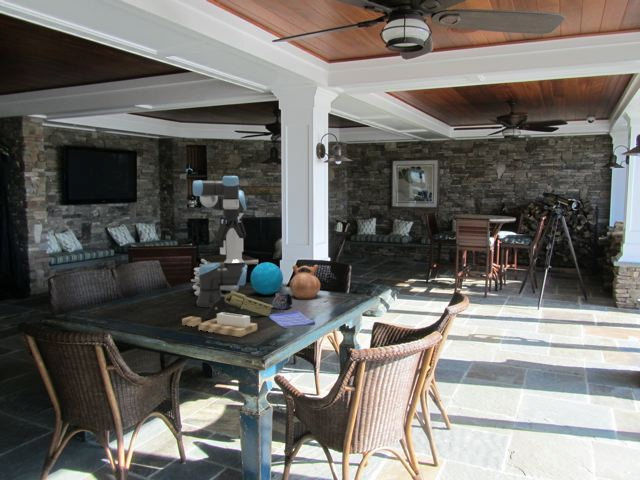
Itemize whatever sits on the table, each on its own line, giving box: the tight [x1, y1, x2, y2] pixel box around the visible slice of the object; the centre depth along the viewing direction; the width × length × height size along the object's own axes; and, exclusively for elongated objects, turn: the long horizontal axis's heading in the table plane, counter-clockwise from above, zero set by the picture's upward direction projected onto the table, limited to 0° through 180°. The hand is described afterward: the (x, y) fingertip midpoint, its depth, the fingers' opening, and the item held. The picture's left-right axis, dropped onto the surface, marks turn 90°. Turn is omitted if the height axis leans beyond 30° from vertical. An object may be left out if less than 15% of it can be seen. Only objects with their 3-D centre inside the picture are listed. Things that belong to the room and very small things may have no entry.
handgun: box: [206, 290, 274, 320], centre depth 270 cm, size 4×30×16 cm, turn 103°
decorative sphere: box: [250, 261, 284, 296], centre depth 327 cm, size 20×20×20 cm
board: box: [197, 318, 258, 338], centre depth 246 cm, size 24×13×3 cm, turn 61°
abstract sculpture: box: [190, 258, 240, 297], centre depth 334 cm, size 23×23×30 cm
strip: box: [217, 312, 251, 328], centre depth 244 cm, size 16×4×7 cm, turn 61°
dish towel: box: [268, 310, 316, 329], centre depth 263 cm, size 17×24×3 cm
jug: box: [289, 264, 321, 300], centre depth 319 cm, size 18×18×20 cm
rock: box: [272, 292, 293, 310], centre depth 292 cm, size 11×10×10 cm
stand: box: [181, 316, 202, 327], centre depth 256 cm, size 7×6×3 cm
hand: (232, 252), depth 254 cm, fingers open, 13 cm apart
